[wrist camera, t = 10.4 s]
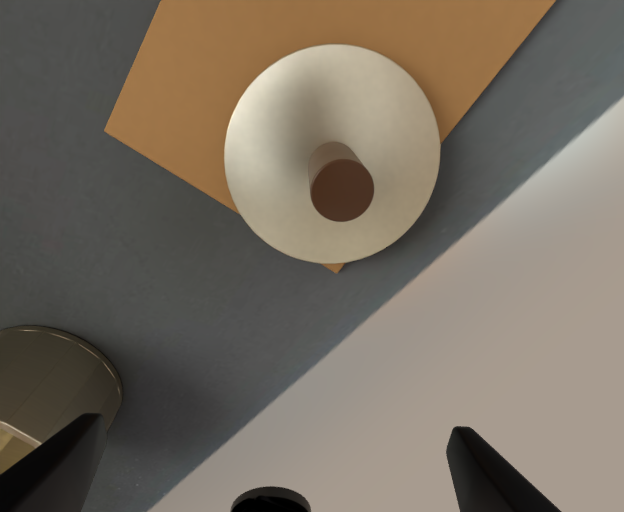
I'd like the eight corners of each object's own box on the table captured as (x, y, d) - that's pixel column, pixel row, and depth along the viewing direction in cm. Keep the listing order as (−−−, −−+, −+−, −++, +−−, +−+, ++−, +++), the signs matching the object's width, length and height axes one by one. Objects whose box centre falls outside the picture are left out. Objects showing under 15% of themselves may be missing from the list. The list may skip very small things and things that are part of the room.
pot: (112, 329, 23) (46, 413, 17) (131, 434, 27) (83, 532, 21) (-47, 321, 22) (-172, 406, 16) (-4, 430, 26) (-92, 529, 20)
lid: (455, 57, 17) (522, 44, 12) (411, 261, 21) (446, 316, 16) (226, 34, 16) (191, 11, 11) (229, 249, 20) (205, 303, 15)
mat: (669, -145, 14) (676, -150, 14) (336, 271, 22) (336, 274, 21) (395, -528, 11) (398, -543, 10) (106, 130, 18) (103, 131, 18)
